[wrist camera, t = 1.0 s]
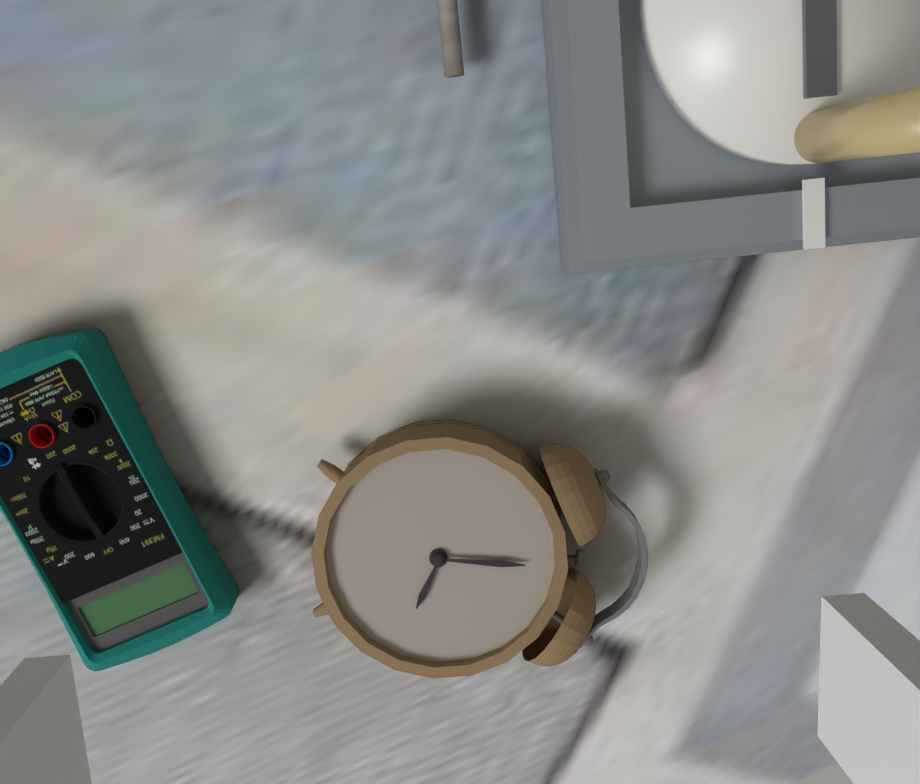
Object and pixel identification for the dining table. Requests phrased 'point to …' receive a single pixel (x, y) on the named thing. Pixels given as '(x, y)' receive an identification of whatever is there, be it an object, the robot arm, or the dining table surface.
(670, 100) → the dial
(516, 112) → the dining table surface
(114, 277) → the dining table surface
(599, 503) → the alarm clock
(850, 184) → the panel
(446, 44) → the screwdriver
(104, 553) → the digital multimeter
